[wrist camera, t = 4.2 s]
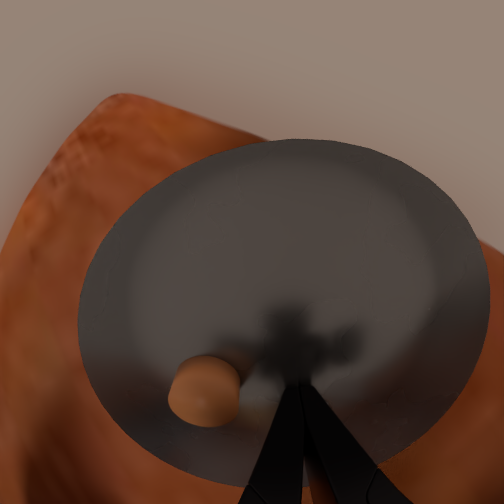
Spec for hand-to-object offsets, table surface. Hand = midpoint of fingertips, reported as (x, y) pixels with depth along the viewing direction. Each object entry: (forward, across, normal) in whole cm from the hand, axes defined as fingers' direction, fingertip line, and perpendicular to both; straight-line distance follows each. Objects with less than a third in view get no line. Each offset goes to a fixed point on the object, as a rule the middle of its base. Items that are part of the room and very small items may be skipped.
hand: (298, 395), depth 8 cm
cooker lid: (+1, 0, 0) cm, 1 cm away
